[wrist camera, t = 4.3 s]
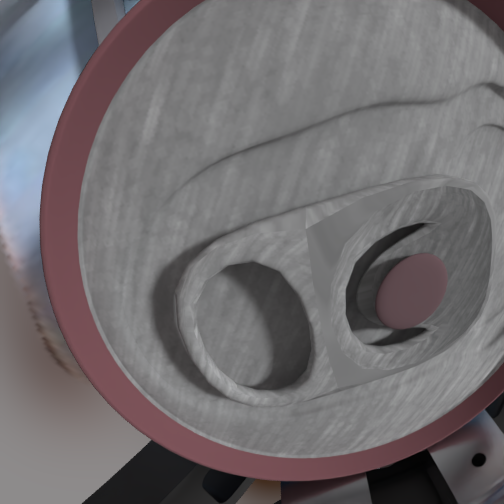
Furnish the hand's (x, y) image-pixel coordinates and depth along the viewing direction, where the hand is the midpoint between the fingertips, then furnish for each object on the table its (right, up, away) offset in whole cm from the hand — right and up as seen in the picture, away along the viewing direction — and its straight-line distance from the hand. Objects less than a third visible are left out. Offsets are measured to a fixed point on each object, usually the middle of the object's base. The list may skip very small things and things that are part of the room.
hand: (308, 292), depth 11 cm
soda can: (-1, +6, +2) cm, 6 cm away
